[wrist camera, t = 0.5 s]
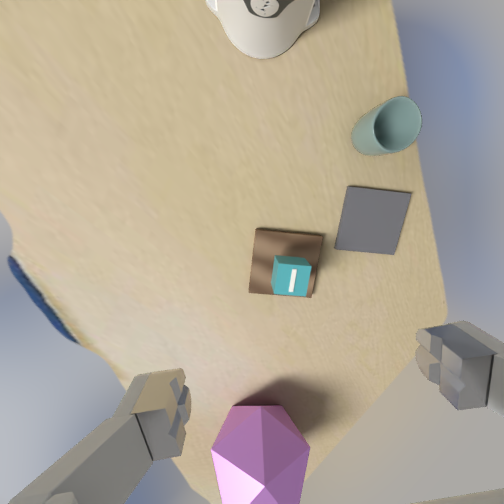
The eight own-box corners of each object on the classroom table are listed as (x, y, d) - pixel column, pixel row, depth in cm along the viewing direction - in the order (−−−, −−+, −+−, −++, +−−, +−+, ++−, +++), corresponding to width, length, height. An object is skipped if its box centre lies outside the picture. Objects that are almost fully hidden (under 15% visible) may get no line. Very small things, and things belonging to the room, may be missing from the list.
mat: (347, 186, 49) (349, 186, 48) (408, 193, 50) (411, 193, 49) (334, 248, 53) (336, 249, 52) (391, 253, 54) (394, 254, 53)
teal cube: (274, 255, 48) (278, 263, 43) (304, 257, 48) (311, 266, 43) (270, 283, 50) (274, 294, 45) (299, 285, 50) (306, 297, 45)
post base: (255, 228, 51) (258, 238, 43) (320, 235, 52) (335, 245, 44) (248, 289, 55) (250, 308, 46) (309, 294, 56) (321, 314, 47)
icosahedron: (176, 447, 58) (226, 599, 42) (221, 385, 53) (296, 529, 37) (240, 420, 74) (294, 522, 58) (278, 371, 70) (348, 467, 54)
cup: (371, 104, 45) (406, 83, 35) (393, 138, 47) (431, 128, 37) (337, 133, 46) (362, 121, 37) (359, 166, 48) (389, 163, 39)
